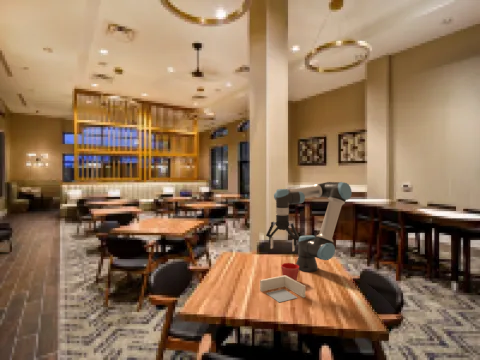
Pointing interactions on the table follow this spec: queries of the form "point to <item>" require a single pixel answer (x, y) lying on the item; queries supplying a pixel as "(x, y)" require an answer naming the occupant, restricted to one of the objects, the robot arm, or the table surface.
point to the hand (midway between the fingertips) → (282, 249)
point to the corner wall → (282, 284)
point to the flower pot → (290, 270)
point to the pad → (281, 295)
